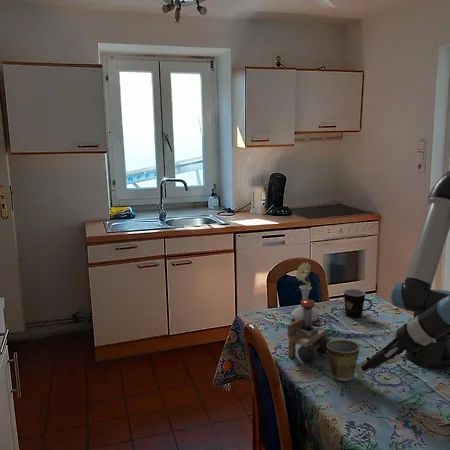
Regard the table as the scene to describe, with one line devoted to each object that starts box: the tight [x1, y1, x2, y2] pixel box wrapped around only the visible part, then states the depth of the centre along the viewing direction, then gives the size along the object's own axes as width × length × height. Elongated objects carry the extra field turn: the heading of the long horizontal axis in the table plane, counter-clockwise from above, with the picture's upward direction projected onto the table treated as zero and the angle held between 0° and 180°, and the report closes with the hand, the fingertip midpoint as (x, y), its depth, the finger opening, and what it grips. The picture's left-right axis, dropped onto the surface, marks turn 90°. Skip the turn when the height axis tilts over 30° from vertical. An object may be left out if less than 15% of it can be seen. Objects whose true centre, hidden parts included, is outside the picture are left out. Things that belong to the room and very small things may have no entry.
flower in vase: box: [290, 261, 320, 323], centre depth 185 cm, size 13×11×25 cm
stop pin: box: [300, 298, 316, 331], centre depth 156 cm, size 5×5×11 cm
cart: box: [287, 317, 330, 364], centre depth 157 cm, size 10×12×12 cm
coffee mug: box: [343, 288, 373, 319], centre depth 189 cm, size 12×9×10 cm
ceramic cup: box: [326, 339, 361, 382], centre depth 144 cm, size 13×10×10 cm
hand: (356, 372), depth 140 cm, fingers closed
